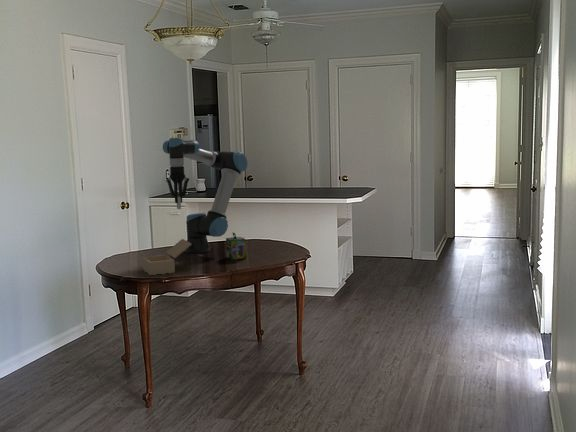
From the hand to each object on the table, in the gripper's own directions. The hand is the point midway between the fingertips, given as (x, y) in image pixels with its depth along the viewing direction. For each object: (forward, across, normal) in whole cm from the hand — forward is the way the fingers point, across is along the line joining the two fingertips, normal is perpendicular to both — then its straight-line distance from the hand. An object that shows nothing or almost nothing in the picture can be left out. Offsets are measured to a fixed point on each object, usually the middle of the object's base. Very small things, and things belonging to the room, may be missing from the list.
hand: (178, 208), depth 346 cm
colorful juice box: (+31, +31, -6) cm, 44 cm away
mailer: (+30, -17, -15) cm, 38 cm away
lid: (+19, -6, -15) cm, 25 cm away
